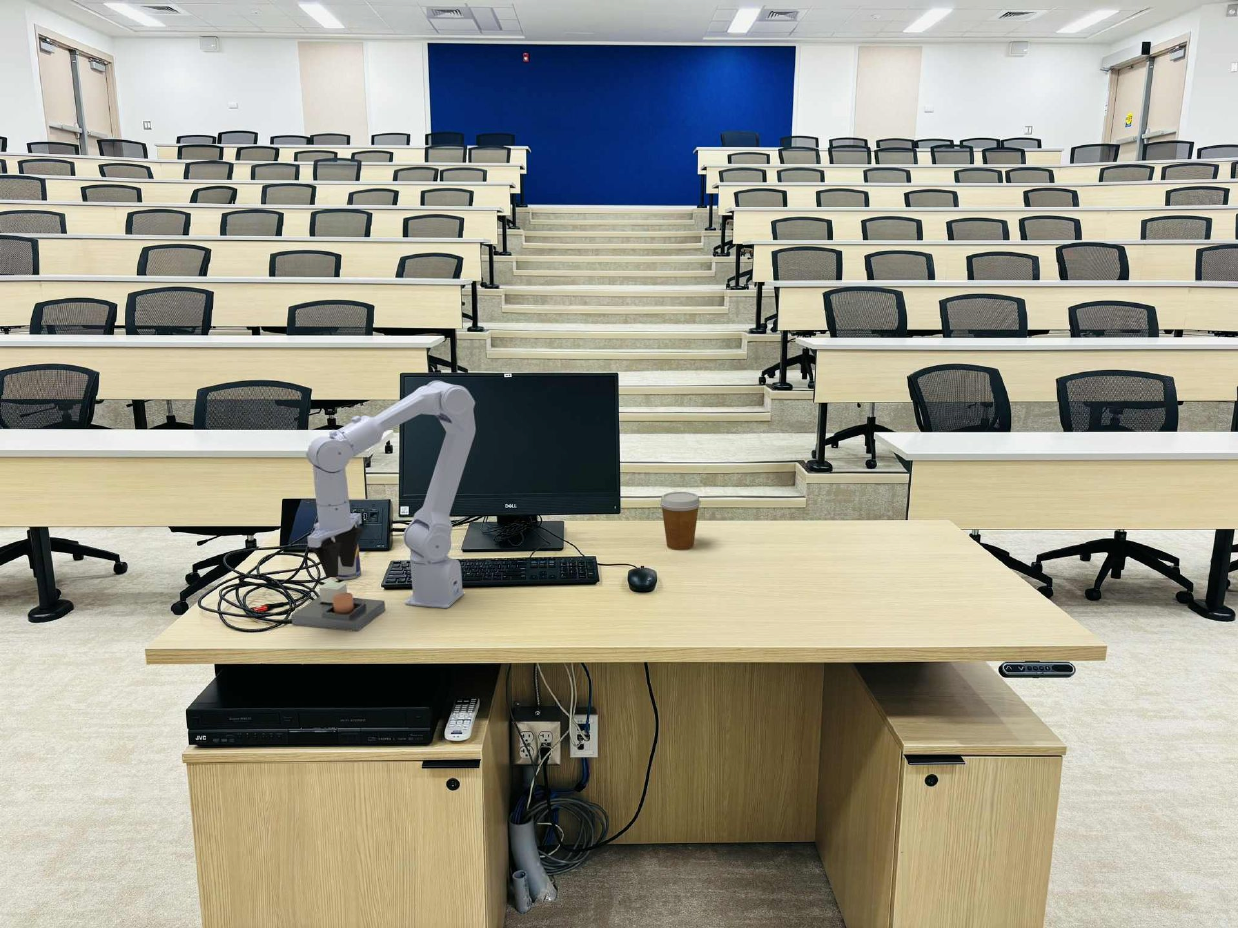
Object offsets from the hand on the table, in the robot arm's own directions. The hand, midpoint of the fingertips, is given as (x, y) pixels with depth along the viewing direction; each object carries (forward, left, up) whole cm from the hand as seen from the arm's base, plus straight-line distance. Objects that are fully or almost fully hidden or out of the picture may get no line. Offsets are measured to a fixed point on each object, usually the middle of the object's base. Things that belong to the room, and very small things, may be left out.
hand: (340, 571), depth 162 cm
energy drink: (+13, -22, -11) cm, 28 cm away
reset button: (0, 0, -8) cm, 8 cm away
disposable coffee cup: (-54, -56, -11) cm, 79 cm away
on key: (+5, -4, -8) cm, 10 cm away
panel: (+3, -2, -10) cm, 11 cm away
